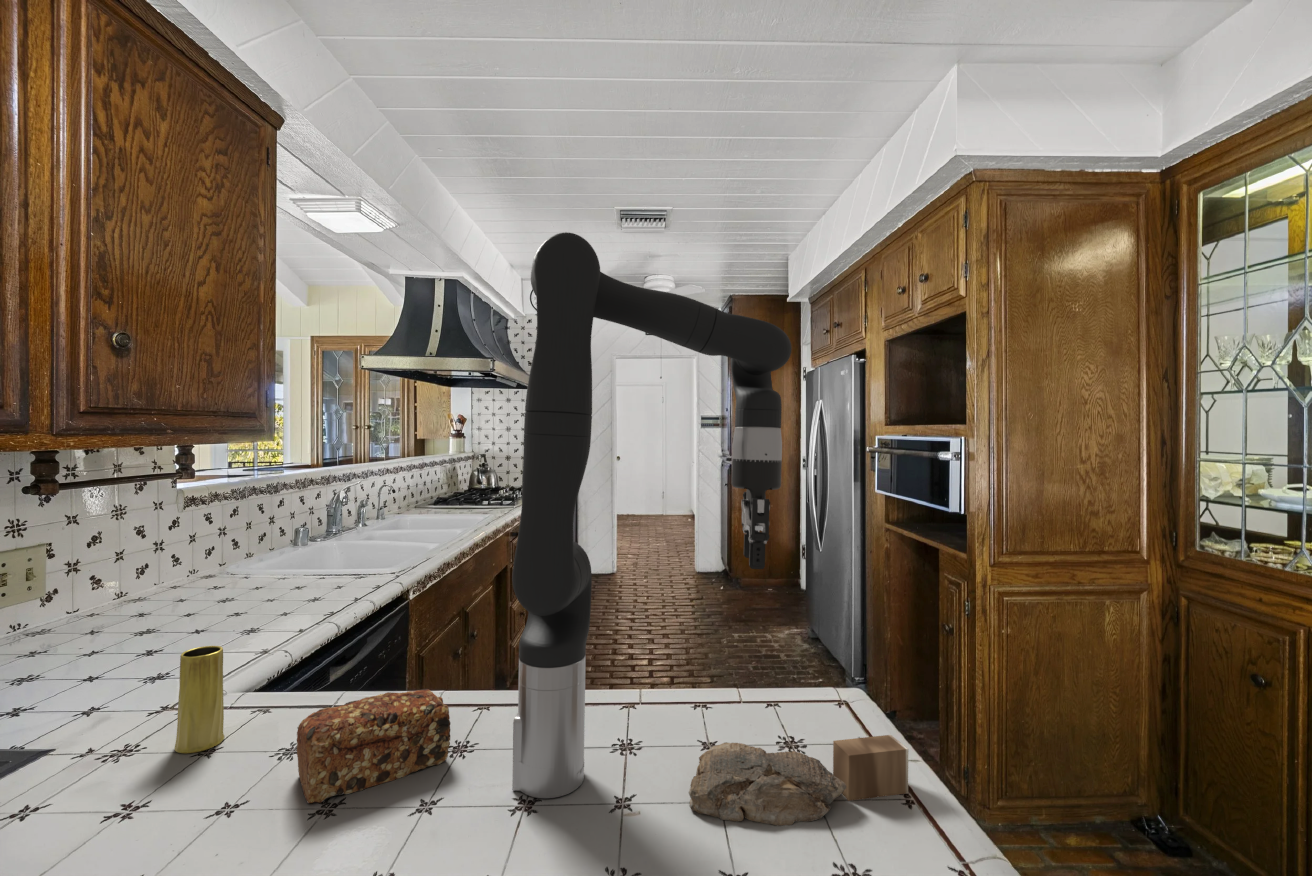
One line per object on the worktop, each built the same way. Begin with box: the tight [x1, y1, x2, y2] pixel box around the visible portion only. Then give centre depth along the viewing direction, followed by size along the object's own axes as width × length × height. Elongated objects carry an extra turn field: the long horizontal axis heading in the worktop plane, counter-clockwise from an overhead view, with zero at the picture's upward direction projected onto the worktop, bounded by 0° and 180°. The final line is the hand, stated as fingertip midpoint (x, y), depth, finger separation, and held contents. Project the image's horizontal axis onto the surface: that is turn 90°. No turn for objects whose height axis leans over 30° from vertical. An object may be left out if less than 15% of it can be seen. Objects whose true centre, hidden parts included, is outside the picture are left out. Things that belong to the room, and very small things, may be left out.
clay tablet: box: [688, 742, 846, 827], centre depth 79 cm, size 14×5×20 cm
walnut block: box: [832, 734, 909, 802], centre depth 81 cm, size 4×6×9 cm
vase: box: [174, 645, 225, 755], centre depth 91 cm, size 6×6×14 cm
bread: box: [296, 688, 451, 804], centre depth 84 cm, size 19×11×10 cm, turn 128°
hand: (753, 562), depth 90 cm, fingers open, 8 cm apart
